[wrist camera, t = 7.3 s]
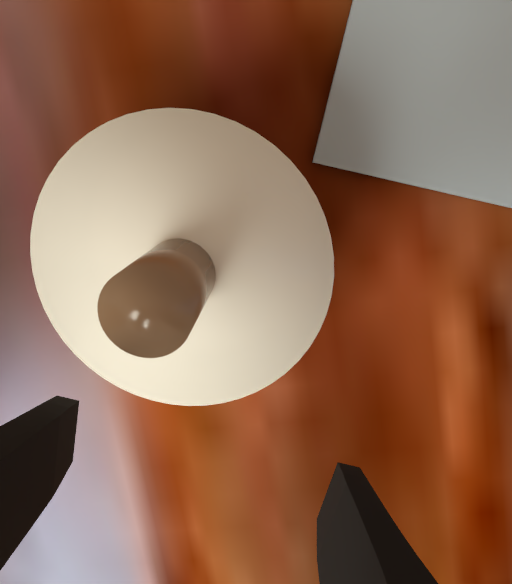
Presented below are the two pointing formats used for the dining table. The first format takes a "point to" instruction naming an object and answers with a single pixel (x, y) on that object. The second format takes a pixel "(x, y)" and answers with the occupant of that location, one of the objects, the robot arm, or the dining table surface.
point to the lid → (182, 256)
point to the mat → (425, 96)
